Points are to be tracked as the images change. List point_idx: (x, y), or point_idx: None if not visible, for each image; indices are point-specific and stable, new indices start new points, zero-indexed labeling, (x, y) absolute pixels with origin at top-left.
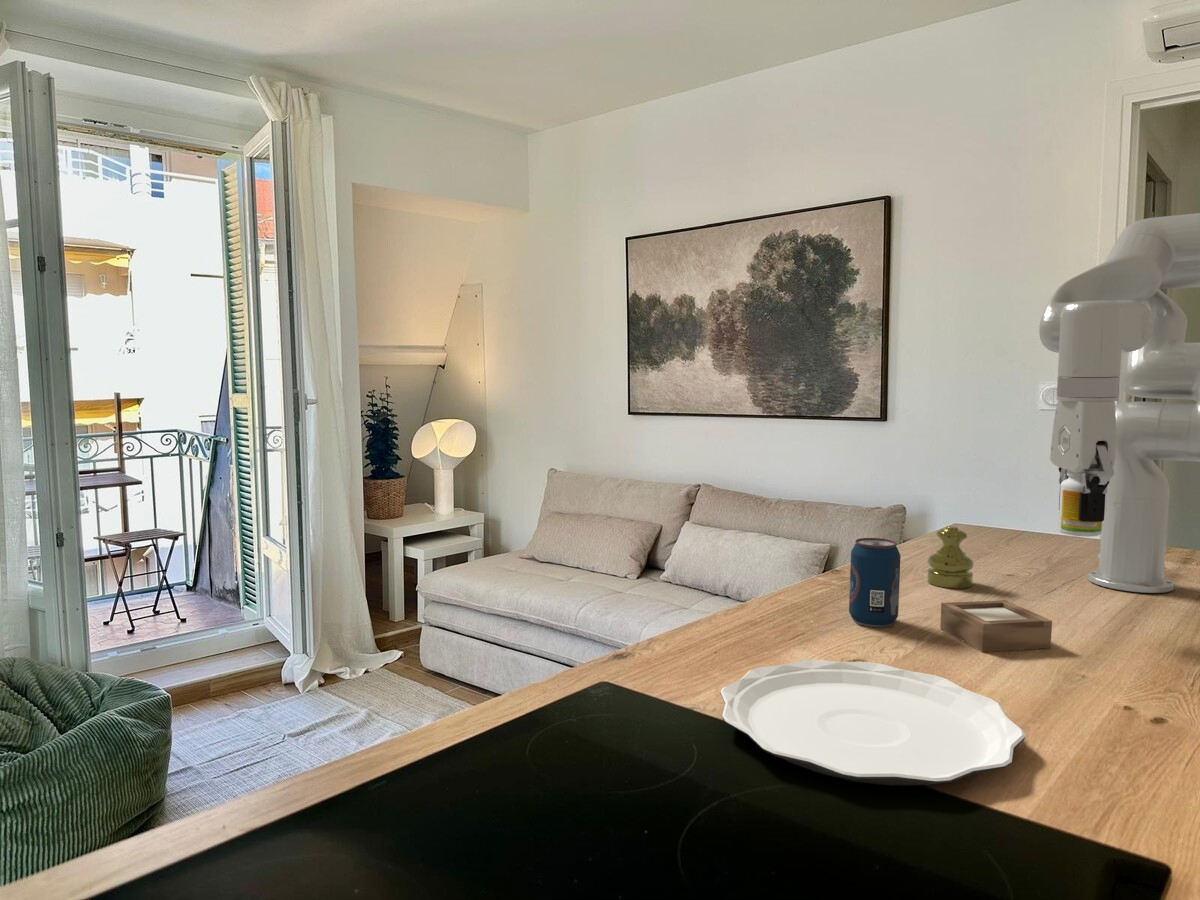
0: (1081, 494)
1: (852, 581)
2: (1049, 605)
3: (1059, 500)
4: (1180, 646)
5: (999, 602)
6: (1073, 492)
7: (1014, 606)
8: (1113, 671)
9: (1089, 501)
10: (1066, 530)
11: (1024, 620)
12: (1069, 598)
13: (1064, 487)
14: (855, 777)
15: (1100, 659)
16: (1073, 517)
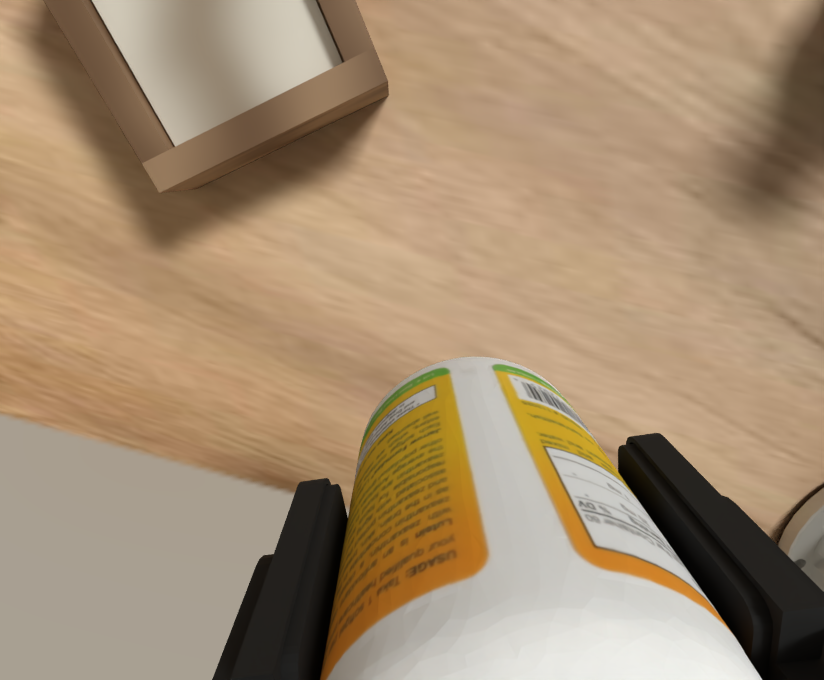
0: (240, 668)
1: None
2: (646, 291)
3: (703, 482)
4: None
5: (347, 49)
6: (356, 628)
7: (305, 98)
8: (68, 299)
9: (224, 654)
10: (403, 384)
11: (118, 92)
12: (726, 363)
13: (467, 607)
14: None
15: (155, 295)
16: (370, 462)
